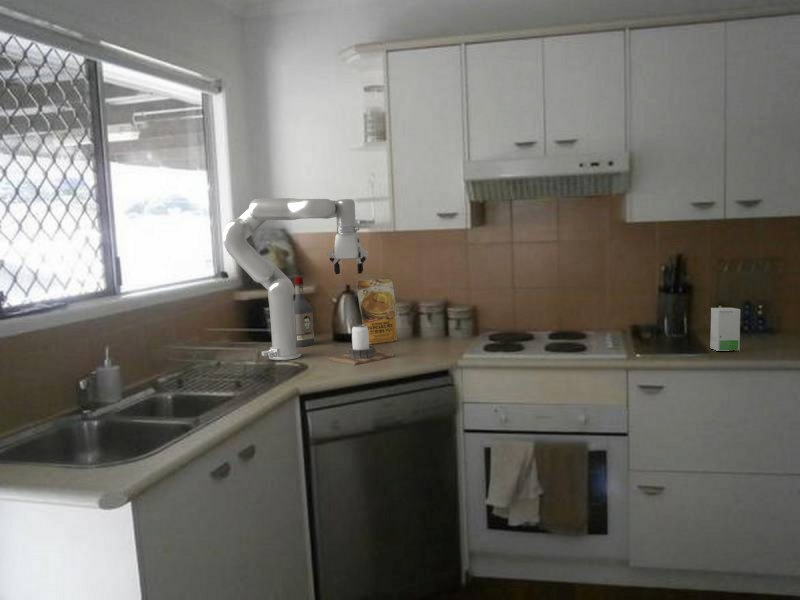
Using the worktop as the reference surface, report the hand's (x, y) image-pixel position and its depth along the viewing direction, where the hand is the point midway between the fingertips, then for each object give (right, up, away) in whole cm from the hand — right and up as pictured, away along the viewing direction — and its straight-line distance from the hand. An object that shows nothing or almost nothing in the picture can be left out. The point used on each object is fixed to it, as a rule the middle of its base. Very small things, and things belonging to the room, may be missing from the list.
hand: (348, 273), depth 271 cm
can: (+5, -33, -7) cm, 34 cm away
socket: (+6, -33, -7) cm, 34 cm away
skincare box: (+139, -29, -22) cm, 144 cm away
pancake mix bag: (+11, -29, +27) cm, 41 cm away
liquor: (-23, -31, +29) cm, 48 cm away
